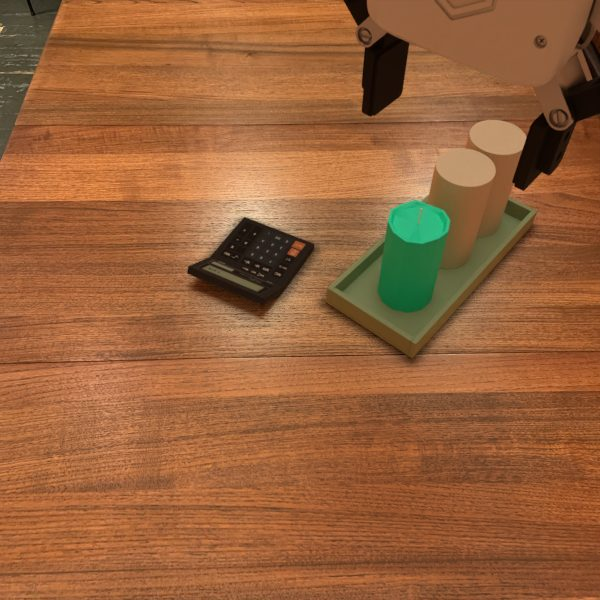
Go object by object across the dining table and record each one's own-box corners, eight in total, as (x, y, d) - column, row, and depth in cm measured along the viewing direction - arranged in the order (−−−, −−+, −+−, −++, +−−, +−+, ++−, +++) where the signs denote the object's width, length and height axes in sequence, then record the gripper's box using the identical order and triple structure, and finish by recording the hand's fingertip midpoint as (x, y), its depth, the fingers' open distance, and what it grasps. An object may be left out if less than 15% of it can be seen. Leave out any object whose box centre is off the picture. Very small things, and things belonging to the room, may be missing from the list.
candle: (444, 298, 70) (466, 216, 61) (398, 320, 68) (414, 239, 59) (411, 263, 74) (427, 180, 64) (366, 283, 72) (377, 200, 62)
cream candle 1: (480, 247, 75) (507, 164, 66) (452, 277, 72) (476, 195, 63) (436, 223, 78) (455, 140, 68) (407, 251, 75) (423, 168, 65)
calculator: (314, 249, 76) (314, 230, 73) (263, 319, 69) (262, 301, 67) (244, 222, 78) (243, 203, 76) (189, 287, 72) (186, 268, 70)
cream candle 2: (509, 218, 78) (537, 134, 69) (483, 245, 75) (509, 162, 66) (465, 195, 81) (487, 112, 71) (439, 221, 78) (458, 138, 69)
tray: (531, 226, 78) (537, 210, 76) (412, 358, 66) (415, 344, 64) (451, 185, 83) (455, 169, 81) (326, 302, 71) (326, 287, 69)
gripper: (287, -278, 25) (290, 108, 38) (765, -187, 18) (565, 249, 31) (401, -305, 29) (368, 56, 42) (835, -239, 21) (629, 171, 35)
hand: (452, 138), depth 36 cm, fingers open, 9 cm apart
